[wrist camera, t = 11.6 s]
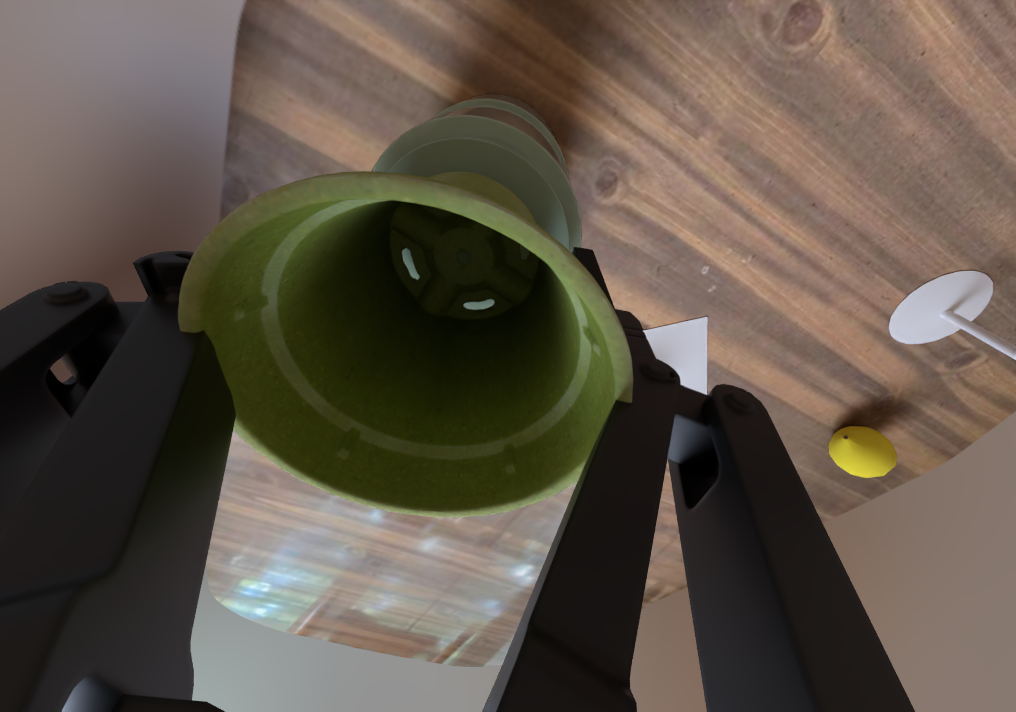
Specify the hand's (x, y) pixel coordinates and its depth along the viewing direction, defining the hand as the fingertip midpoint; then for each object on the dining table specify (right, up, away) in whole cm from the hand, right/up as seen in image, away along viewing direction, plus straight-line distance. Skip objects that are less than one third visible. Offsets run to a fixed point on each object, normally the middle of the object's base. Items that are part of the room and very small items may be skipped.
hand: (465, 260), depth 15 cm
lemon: (+41, -13, +28) cm, 51 cm away
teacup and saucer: (+14, -10, +28) cm, 33 cm away
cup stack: (+1, +10, +13) cm, 17 cm away
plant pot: (0, 0, 0) cm, 0 cm away
